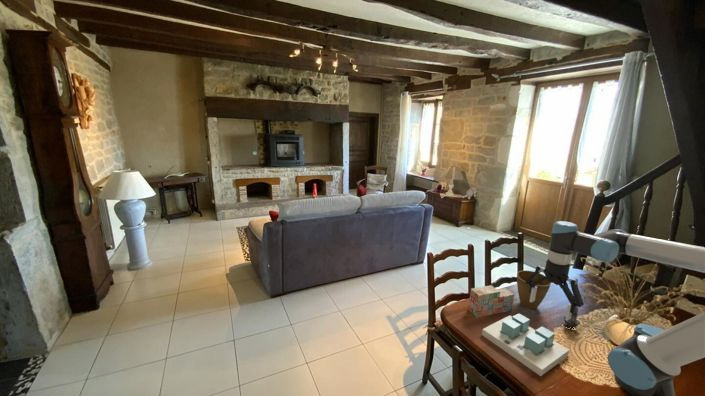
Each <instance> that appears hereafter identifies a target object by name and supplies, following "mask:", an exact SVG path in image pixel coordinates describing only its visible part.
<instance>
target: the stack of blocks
mask: <svg viewBox="0 0 705 396" xmlns="http://www.w3.org/2000/svg"><path fill="white" fill-rule="evenodd" d="M469 292H470V294H469V299H468V309H467V310H468V311H469V312H470V313H471V315H473V316H474V317H475V318H480V317H485V316H491V315H494V314H499V313H500V314H501V313H505V312H506V313H507V312H511V311H512V310H513V305H514V297H515V294H514V293H513V292H512V291H510V290H508V289H507V288H505V287H504V288H498V289H497V288H495V287H494V285H485V286H480V287H472V288H470V291H469Z"/></svg>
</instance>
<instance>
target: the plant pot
mask: <svg viewBox="0 0 705 396" xmlns="http://www.w3.org/2000/svg"><path fill="white" fill-rule="evenodd" d="M534 272H535V271H533V270H519V271H518V272H517V273H516V285H517V293H518V298H519V302H520V304H521V306H522V307H524V308H526V309H528V310H536V309H537V308H538V307H539V306H540V305H541V304H542V302H543V300H544V299H545V297H546V296H547V294H548V291H549V290H550V287H551V285H552V283H551V282H549V281H548V280H545V281H543V282H541V283H539V284H537V285H535V286H536V287H537V291H536V297H535V301H534V302H532V303H531V302H529V301H530V296H531V294H530V293H529V288H530V286H529V284H526V283H525V281H526V280H527V279H528V278H529V277H530V276H531V275H532V274H533V273H534ZM543 277H545V274H542V273H541V272H540V273H539V274H538V275H537V276H536V277H535V279H534V280H533V281H532V282H535V281H537V280H539V279H541V278H543Z"/></svg>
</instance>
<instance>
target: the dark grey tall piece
mask: <svg viewBox="0 0 705 396" xmlns="http://www.w3.org/2000/svg"><path fill="white" fill-rule="evenodd" d="M578 312H579V307H578V306H577V307H576V311H575V313H573V314H572V315H571V319H569V320H568V321H567V320H565V318H566V315H565V316H564V317H563V320H564V323H563V324H562V326H563V327H564V326H565V327H567V328H570V327H571V328H570V329H572V328H573V327H576V328H577V327H578V326H579V325H580V321H579V320H578V318H577V317H578V315H579V313H578ZM565 327H564V328H565ZM567 328H566V329H567ZM573 329H574V328H573Z"/></svg>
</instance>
